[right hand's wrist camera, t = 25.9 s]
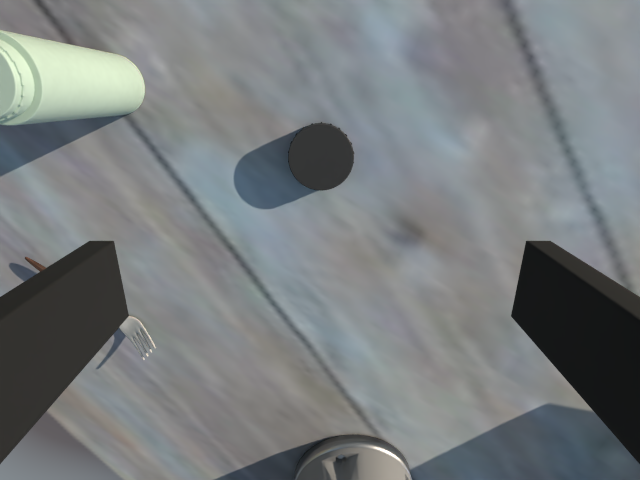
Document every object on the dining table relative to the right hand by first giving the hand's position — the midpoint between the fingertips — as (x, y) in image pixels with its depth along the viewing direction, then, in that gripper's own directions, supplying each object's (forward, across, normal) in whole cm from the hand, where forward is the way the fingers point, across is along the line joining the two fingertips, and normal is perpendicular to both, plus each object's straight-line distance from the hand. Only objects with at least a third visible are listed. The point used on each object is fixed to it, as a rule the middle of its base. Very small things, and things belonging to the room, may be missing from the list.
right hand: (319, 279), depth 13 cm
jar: (+26, +18, -6) cm, 32 cm away
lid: (+24, 0, 0) cm, 24 cm away
